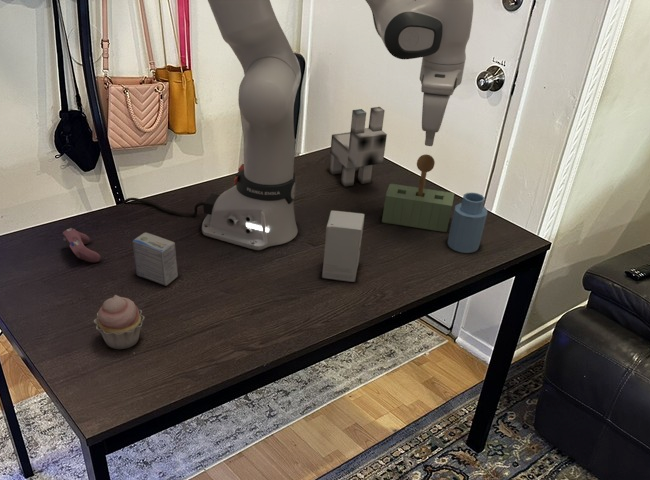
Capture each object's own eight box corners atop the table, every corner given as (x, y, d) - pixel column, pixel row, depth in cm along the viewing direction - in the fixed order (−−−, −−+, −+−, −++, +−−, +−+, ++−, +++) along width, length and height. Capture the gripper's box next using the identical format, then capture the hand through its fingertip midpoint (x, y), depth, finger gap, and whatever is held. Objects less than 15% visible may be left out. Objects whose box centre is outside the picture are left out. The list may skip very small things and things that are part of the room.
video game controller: (74, 250, 160) (55, 229, 154) (90, 239, 160) (72, 217, 154) (86, 272, 153) (67, 250, 148) (103, 260, 153) (84, 238, 148)
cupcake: (146, 322, 138) (141, 279, 131) (147, 352, 131) (142, 309, 124) (97, 326, 136) (90, 282, 130) (96, 356, 129) (88, 312, 123)
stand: (381, 222, 170) (385, 195, 166) (385, 209, 175) (389, 183, 171) (446, 232, 168) (452, 205, 163) (449, 219, 172) (454, 192, 168)
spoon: (407, 220, 171) (418, 154, 160) (407, 218, 172) (418, 152, 161) (423, 223, 171) (435, 157, 160) (424, 220, 172) (436, 155, 161)
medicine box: (178, 277, 150) (175, 241, 144) (165, 287, 147) (162, 251, 141) (149, 266, 153) (145, 231, 147) (136, 275, 150) (131, 240, 144)
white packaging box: (355, 283, 150) (361, 230, 142) (321, 278, 151) (325, 225, 143) (359, 264, 156) (365, 213, 147) (326, 260, 157) (330, 208, 148)
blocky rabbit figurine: (349, 163, 195) (357, 89, 182) (379, 190, 183) (389, 114, 170) (325, 166, 193) (330, 92, 180) (353, 194, 181) (361, 117, 168)
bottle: (446, 250, 161) (456, 202, 154) (448, 234, 167) (458, 187, 159) (477, 255, 160) (489, 207, 152) (479, 239, 165) (491, 192, 157)
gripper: (431, 56, 157) (422, 118, 166) (421, 86, 142) (411, 152, 151) (460, 59, 156) (449, 121, 165) (452, 90, 141) (441, 156, 150)
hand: (431, 136), depth 158 cm, fingers open, 8 cm apart
